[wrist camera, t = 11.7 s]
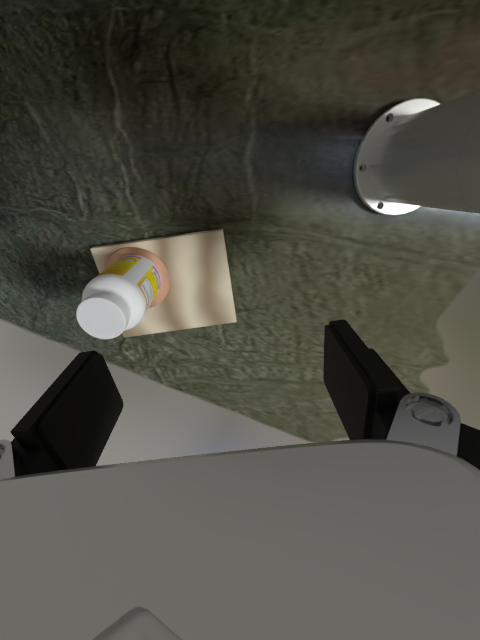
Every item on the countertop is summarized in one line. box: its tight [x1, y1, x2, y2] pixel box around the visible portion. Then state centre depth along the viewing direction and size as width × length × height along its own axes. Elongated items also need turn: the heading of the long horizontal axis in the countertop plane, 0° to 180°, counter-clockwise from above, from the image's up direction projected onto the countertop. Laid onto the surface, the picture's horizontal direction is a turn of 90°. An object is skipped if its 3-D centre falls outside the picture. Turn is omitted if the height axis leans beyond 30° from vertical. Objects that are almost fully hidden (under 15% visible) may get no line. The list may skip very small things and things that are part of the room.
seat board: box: [90, 229, 236, 337], centre depth 40 cm, size 18×14×2 cm
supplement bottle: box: [76, 255, 161, 339], centre depth 32 cm, size 7×7×13 cm
